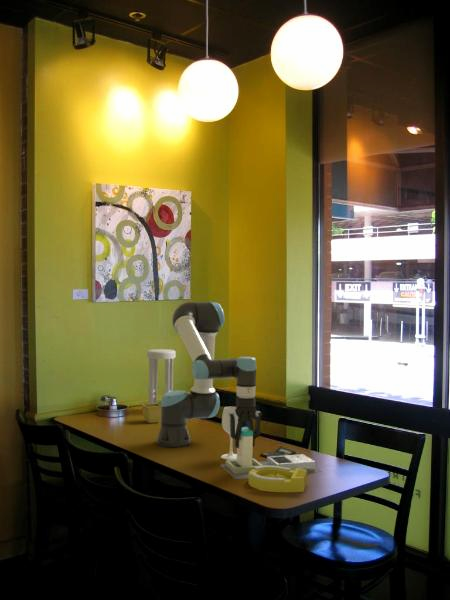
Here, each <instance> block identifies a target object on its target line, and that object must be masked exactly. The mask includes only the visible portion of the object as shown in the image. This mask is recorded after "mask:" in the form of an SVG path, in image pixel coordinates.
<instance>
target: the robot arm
mask: <svg viewBox="0 0 450 600" xmlns="http://www.w3.org/2000/svg"><path fill="white" fill-rule="evenodd" d="M171 319H172V320H171V321H172V323H171V324H172V327H173V329H174V330H175V332H176V333H178V334H179V336H180V338H181V340H182V342H183V343H184V346H185V348H186V350H187V352H188V354H189V357H190V359H191V361H192V363H191V368H190V370H191V371H190V372H191V376H192V377H193V379H194V380H193V386H192V387H191V388H190V393H188V392H187V391H186V390H183V389H182V390H173V391H171V392H167V393H165V394H163V395H162V396H161V401H160V405H161V419H160V428H159V432H158V435H157V437H156V445H158V446H160V447H166V448H182V447H187V446H188V444H189V445H190V444H191V437H190V434H189V430H188V427H187V424H188V423H187V422H188V421H187V420H197V419H210V418H214V417H216V415H217V414H218V412H219V409H220V404H221V401H220V396H219V394H218V392H216V388H214V386H213V383H214V379H236V392H235V393H236V394H235V395H236V398H235V399H236V400H235V407H236V409H235V412H232V413H229V417H230V435H229V437H230V436H231V437H232V438H233V440H234V447H235V448H236V454H237V455H238V456H239V457H241V440H240V434H241V429H242V427H243V425H244V422H245V421H247V425H248V426H247V427H248V428H249V429H251V430H252V431H253V448H254V447H255V445H256V442H255V441H256V439H257V438H259V437H260V431H261V419H262V416H263V413H262V412H261V411H260V410H257V408H256V397H255V396H256V388H257V385H256V382H257V381H256V380H257V359H256V357H253V356H239V357H238V358H236V357H229V358H226V359H215V351H216V350H215V348H216V336H217V335H218V333H219V332H220V328H223V327H224V324H225V312H224V309H223V307H222V306H221V304H220V303H218V302H214V301H213V302H212V301H186V302H183V303H181V304H180V305H178V306H177V307H176V308H175V310H174V312H173V315H172V318H171ZM235 415H237V416H238V424H237V428H236V433H235V417H236V416H235ZM254 416H255V419H254V420H255V421H254V420H253V417H254ZM254 422H255V424H254ZM181 446H182V447H181Z"/></svg>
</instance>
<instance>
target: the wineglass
mask: <svg viewBox="0 0 450 600" xmlns="http://www.w3.org/2000/svg"><path fill="white" fill-rule="evenodd" d="M235 409H236V406H224V408H223V411H222V414H221V415H222V416H221V425H222V426H221V427H222V429H223V430H224V432H226V433H227V434H228V435H229V453H225V454H222V455H221V456H220V458H221V459H224V460H237V453H234V452H233V440H234V439H233V438H232V437H231V436H230V417H229V413H232V412H235ZM235 416H236V417H235V433H236V428H237V424H238V416H237V415H235Z"/></svg>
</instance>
